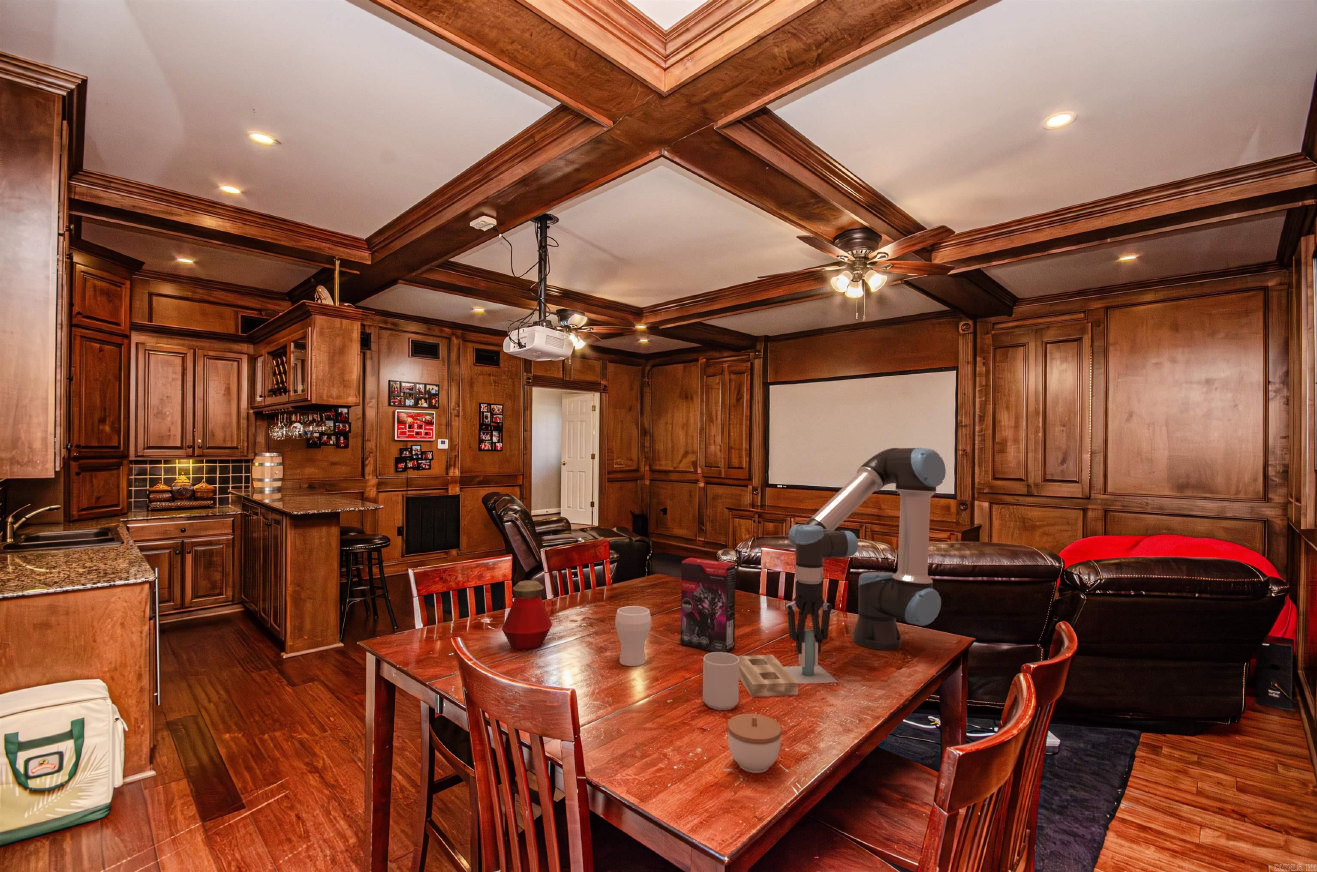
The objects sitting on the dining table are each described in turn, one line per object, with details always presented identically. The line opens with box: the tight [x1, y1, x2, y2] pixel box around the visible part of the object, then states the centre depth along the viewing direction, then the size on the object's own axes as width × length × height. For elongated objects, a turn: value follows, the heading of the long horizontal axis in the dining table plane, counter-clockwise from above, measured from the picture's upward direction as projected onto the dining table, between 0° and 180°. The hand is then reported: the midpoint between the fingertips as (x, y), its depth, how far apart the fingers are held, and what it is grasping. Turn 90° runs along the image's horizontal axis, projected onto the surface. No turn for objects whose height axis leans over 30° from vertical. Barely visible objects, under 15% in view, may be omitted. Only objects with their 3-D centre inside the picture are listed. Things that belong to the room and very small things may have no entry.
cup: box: [614, 605, 652, 667], centre depth 170 cm, size 11×11×15 cm
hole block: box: [736, 654, 799, 699], centre depth 156 cm, size 12×20×4 cm, turn 8°
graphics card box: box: [679, 557, 737, 653], centre depth 183 cm, size 17×7×27 cm, turn 57°
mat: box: [783, 665, 838, 685], centre depth 161 cm, size 12×12×1 cm
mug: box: [702, 652, 740, 711], centre depth 144 cm, size 12×9×11 cm
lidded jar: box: [726, 713, 783, 774], centre depth 115 cm, size 11×11×9 cm
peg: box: [802, 628, 815, 676], centre depth 161 cm, size 3×3×12 cm
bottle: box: [501, 580, 553, 651], centre depth 182 cm, size 16×14×20 cm
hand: (808, 664), depth 161 cm, fingers closed on peg, 3 cm apart
